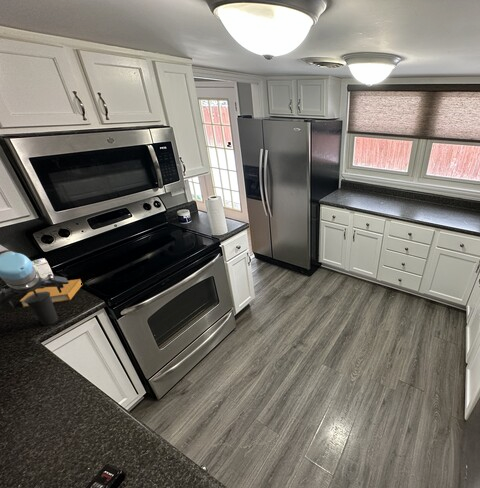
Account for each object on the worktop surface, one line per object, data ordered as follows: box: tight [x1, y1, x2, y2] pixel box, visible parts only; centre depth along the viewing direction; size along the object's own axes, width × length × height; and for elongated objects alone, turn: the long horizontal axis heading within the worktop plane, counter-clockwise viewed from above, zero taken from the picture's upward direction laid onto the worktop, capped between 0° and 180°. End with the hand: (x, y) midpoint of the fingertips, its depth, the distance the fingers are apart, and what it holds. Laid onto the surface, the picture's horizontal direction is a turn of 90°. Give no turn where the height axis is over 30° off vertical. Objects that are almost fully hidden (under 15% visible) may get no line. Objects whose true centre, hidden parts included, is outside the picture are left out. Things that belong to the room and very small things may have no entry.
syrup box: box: [31, 257, 55, 278], centre depth 138 cm, size 6×6×14 cm
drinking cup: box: [24, 290, 59, 326], centre depth 112 cm, size 8×8×20 cm
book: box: [19, 278, 83, 308], centre depth 133 cm, size 18×14×4 cm
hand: (36, 297), depth 105 cm, fingers open, 13 cm apart
